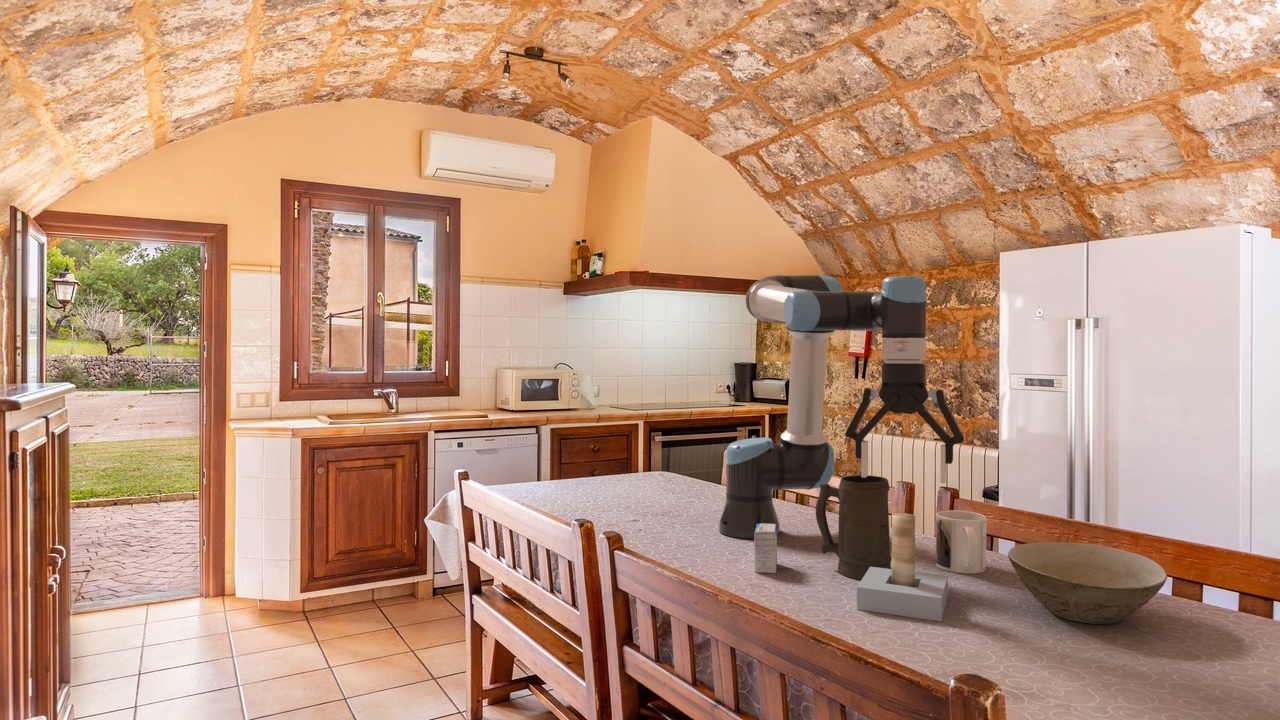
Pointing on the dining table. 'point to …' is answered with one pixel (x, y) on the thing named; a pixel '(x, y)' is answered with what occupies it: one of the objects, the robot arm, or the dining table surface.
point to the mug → (961, 541)
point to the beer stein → (857, 524)
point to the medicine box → (765, 548)
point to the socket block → (903, 595)
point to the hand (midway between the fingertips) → (903, 479)
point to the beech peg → (903, 549)
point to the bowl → (1087, 579)
